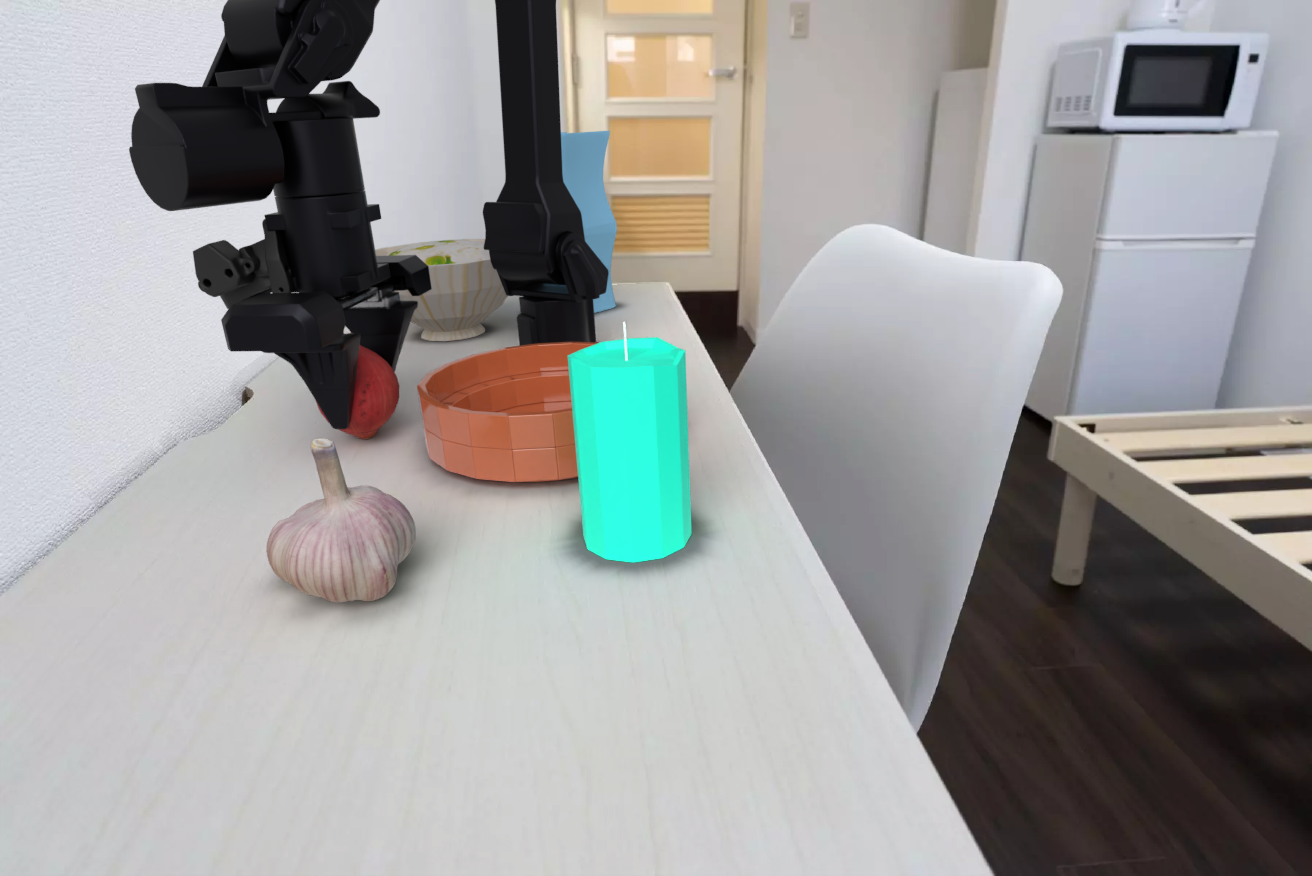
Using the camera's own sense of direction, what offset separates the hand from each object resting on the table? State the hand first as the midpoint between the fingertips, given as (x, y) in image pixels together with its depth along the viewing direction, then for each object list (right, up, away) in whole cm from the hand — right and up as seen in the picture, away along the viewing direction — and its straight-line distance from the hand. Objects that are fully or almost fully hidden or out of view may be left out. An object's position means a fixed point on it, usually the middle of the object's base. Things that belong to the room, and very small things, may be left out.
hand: (361, 413), depth 61 cm
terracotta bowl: (+14, -2, -1) cm, 14 cm away
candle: (+21, -7, -15) cm, 27 cm away
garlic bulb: (+6, -9, -19) cm, 22 cm away
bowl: (-1, +10, +31) cm, 32 cm away
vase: (+12, +14, +40) cm, 44 cm away
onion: (0, -2, +1) cm, 2 cm away
